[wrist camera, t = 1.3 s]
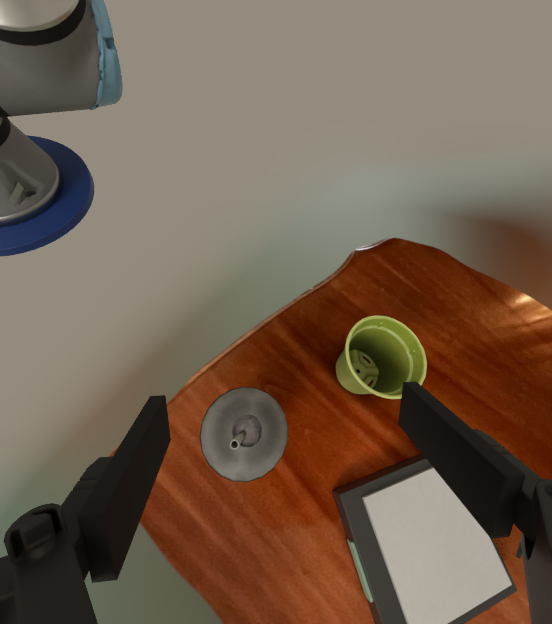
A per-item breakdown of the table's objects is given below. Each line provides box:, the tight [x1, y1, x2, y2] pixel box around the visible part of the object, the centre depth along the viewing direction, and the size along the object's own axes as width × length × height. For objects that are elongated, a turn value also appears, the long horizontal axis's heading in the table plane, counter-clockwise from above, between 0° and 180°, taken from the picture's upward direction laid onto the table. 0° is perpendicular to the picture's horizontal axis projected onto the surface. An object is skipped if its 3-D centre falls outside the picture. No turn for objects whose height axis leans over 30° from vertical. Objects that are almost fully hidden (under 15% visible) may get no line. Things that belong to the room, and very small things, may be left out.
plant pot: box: [336, 316, 427, 399], centre depth 35 cm, size 9×9×9 cm
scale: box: [332, 454, 517, 624], centre depth 31 cm, size 14×15×3 cm
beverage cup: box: [200, 387, 288, 482], centre depth 25 cm, size 7×7×20 cm
